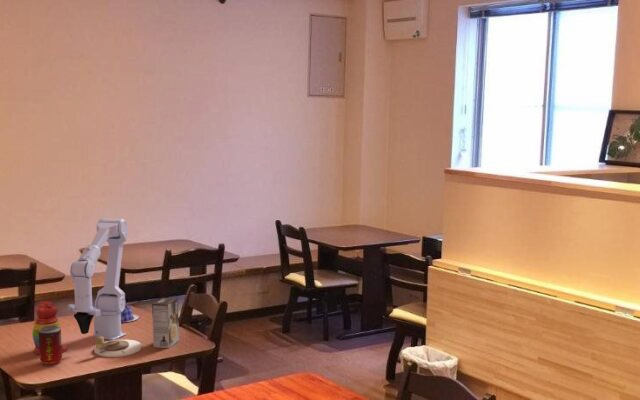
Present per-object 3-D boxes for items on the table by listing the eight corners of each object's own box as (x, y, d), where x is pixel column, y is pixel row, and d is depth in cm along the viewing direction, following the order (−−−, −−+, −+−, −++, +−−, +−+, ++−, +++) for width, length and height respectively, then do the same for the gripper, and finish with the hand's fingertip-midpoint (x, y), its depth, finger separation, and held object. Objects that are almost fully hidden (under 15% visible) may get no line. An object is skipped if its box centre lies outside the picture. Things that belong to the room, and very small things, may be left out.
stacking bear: (69, 351, 269) (67, 301, 267) (41, 357, 262) (39, 307, 260) (55, 344, 277) (53, 296, 275) (28, 350, 270) (25, 301, 268)
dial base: (84, 353, 266) (84, 350, 266) (113, 340, 281) (113, 337, 281) (122, 359, 260) (122, 355, 260) (150, 345, 275) (150, 342, 275)
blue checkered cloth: (125, 314, 317) (124, 301, 317) (145, 318, 311) (144, 306, 310) (101, 321, 308) (101, 308, 307) (122, 325, 301) (121, 312, 300)
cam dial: (116, 340, 276) (115, 327, 275) (134, 345, 271) (133, 331, 270) (88, 350, 265) (87, 336, 264) (106, 355, 260) (105, 340, 260)
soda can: (60, 358, 262) (58, 323, 260) (64, 364, 255) (62, 329, 254) (38, 361, 258) (36, 326, 257) (41, 368, 252) (39, 332, 250)
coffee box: (163, 339, 282) (161, 297, 280) (179, 340, 281) (178, 297, 279) (152, 347, 273) (151, 303, 271) (169, 348, 272) (168, 304, 270)
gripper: (59, 294, 266) (61, 332, 267) (88, 300, 258) (90, 339, 260) (76, 290, 272) (77, 327, 273) (104, 295, 264) (106, 334, 266)
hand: (84, 333), depth 267 cm, fingers closed
